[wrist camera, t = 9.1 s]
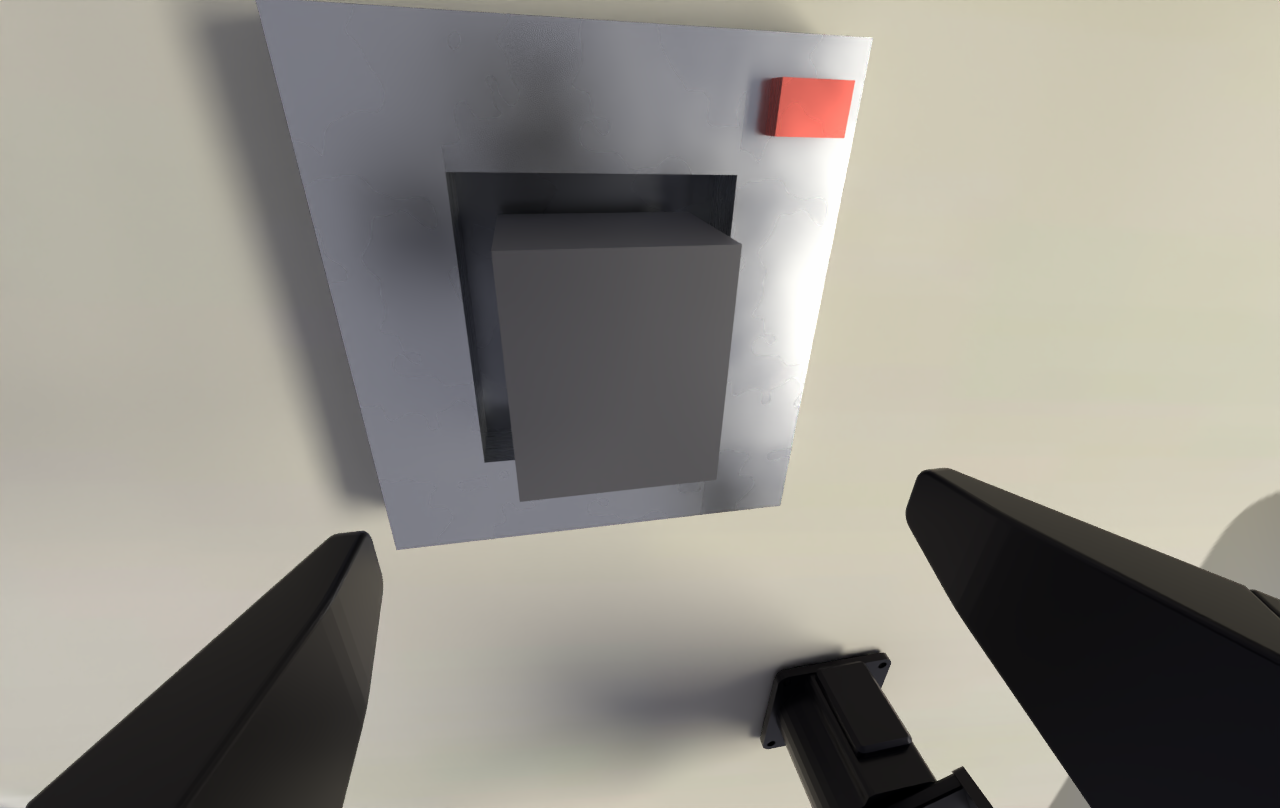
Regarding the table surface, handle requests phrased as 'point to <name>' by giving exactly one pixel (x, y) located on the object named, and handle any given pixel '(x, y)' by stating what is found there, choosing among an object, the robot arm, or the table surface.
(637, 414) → the plug
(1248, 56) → the table surface
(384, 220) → the socket
